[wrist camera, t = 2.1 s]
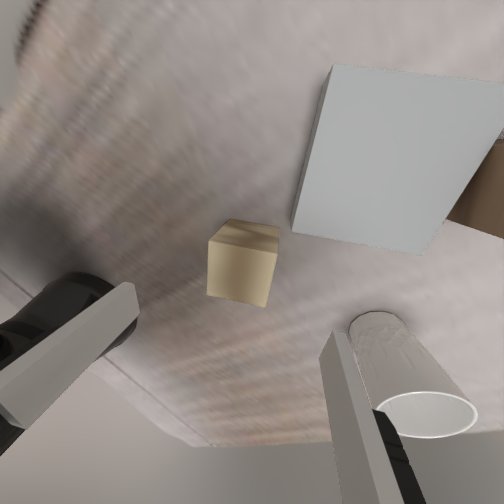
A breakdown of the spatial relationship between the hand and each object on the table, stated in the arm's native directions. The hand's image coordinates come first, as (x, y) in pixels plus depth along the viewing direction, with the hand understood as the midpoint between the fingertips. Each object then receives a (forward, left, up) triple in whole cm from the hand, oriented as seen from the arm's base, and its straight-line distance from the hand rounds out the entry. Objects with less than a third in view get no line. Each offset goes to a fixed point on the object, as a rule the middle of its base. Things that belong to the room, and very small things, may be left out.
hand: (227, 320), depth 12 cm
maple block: (0, 0, -12) cm, 12 cm away
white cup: (+19, -9, -12) cm, 24 cm away
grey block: (+10, +10, -13) cm, 19 cm away
